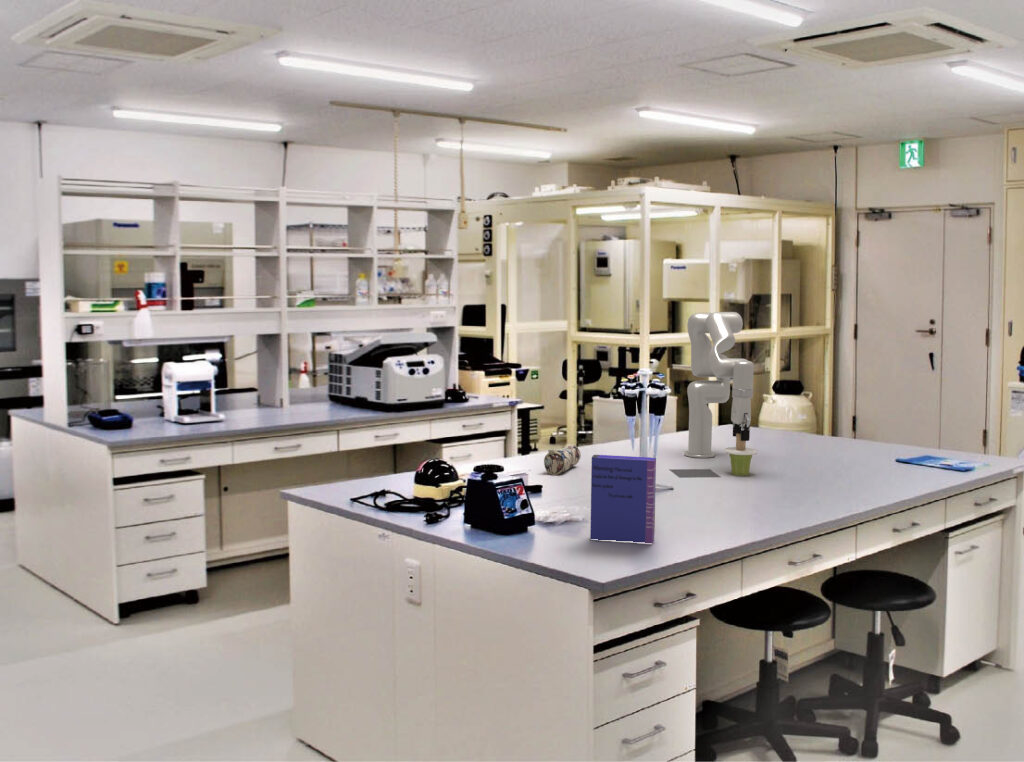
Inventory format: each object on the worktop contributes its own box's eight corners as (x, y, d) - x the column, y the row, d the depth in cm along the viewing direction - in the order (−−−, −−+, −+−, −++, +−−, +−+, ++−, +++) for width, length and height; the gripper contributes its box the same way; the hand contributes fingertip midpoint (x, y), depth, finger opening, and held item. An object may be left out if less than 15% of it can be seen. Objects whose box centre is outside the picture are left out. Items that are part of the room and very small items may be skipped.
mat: (668, 470, 396) (668, 469, 396) (709, 470, 397) (709, 469, 397) (679, 478, 380) (679, 477, 380) (721, 478, 381) (721, 477, 381)
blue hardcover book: (654, 541, 289) (656, 457, 287) (652, 545, 285) (654, 460, 282) (593, 536, 294) (594, 453, 291) (590, 540, 289) (591, 456, 287)
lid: (720, 449, 393) (720, 431, 392) (750, 449, 394) (751, 431, 393) (730, 455, 381) (730, 436, 380) (761, 455, 382) (762, 436, 381)
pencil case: (564, 476, 383) (564, 450, 382) (542, 474, 386) (542, 449, 385) (581, 466, 403) (581, 442, 402) (561, 465, 406) (561, 440, 405)
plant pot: (724, 475, 386) (725, 453, 385) (731, 471, 394) (732, 449, 393) (749, 478, 382) (749, 455, 381) (755, 474, 390) (756, 451, 389)
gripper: (725, 390, 393) (724, 434, 395) (739, 396, 376) (738, 442, 378) (744, 390, 394) (743, 434, 396) (759, 396, 377) (758, 442, 379)
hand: (740, 438), depth 387 cm, fingers open, 9 cm apart
